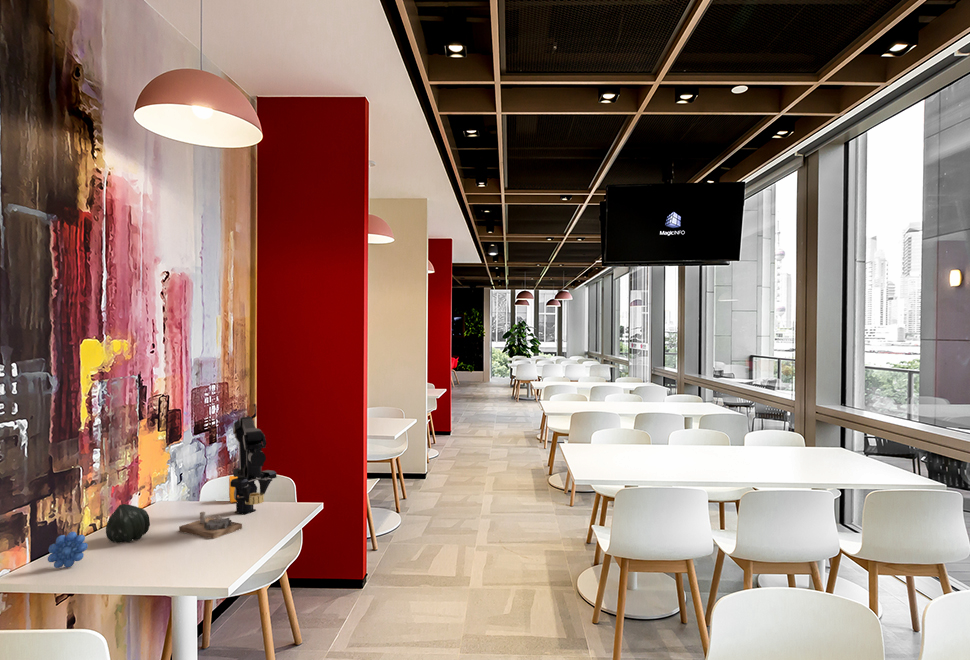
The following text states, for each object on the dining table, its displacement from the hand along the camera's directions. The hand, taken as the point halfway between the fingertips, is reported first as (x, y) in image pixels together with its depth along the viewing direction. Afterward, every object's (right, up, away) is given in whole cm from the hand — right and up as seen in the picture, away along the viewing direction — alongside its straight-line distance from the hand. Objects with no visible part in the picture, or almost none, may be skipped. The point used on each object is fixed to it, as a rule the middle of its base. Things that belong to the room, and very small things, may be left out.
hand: (254, 499), depth 235 cm
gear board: (-16, -11, -4) cm, 20 cm away
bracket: (-24, -13, +40) cm, 49 cm away
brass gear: (0, -1, 0) cm, 1 cm away
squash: (-44, -12, -13) cm, 47 cm away
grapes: (-48, -12, -39) cm, 63 cm away
